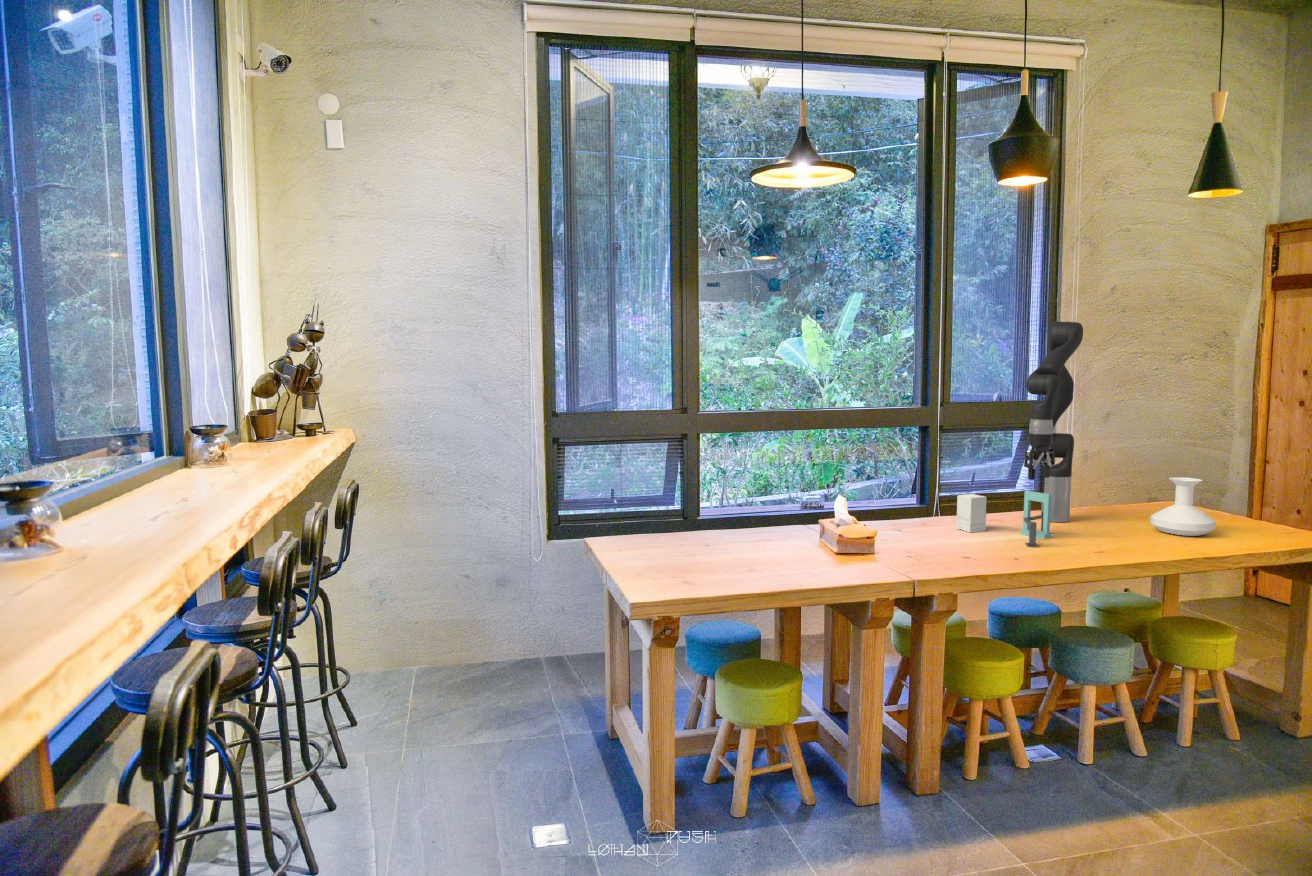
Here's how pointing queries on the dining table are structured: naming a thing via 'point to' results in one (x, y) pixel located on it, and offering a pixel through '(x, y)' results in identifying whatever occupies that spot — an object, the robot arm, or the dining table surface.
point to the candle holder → (1183, 512)
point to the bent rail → (1033, 529)
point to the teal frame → (1046, 500)
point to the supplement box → (971, 513)
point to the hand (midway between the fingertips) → (1038, 478)
